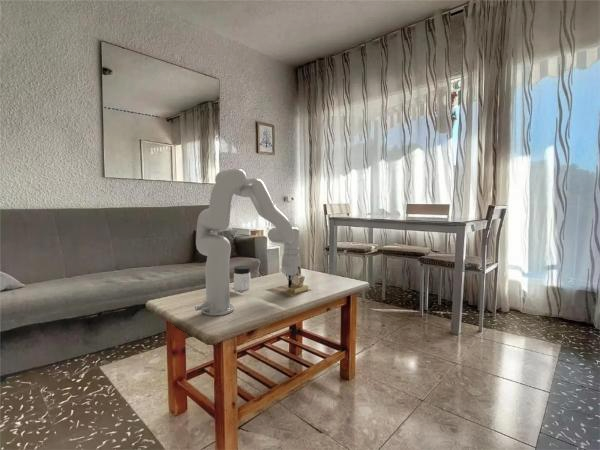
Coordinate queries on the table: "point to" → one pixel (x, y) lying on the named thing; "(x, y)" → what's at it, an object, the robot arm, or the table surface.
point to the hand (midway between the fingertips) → (291, 288)
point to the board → (284, 291)
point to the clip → (298, 289)
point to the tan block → (297, 280)
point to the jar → (241, 278)
